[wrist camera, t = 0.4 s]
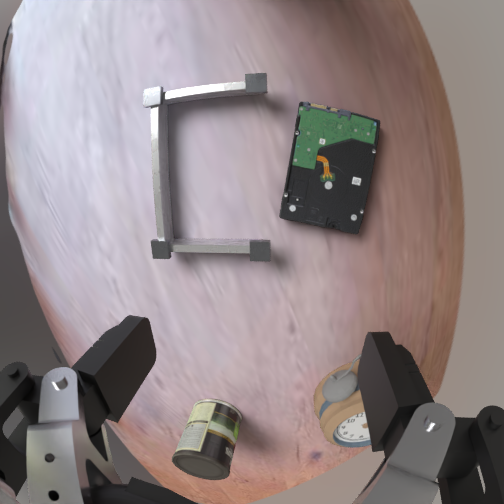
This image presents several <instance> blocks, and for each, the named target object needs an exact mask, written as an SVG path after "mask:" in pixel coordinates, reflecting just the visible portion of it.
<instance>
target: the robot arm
mask: <svg viewBox="0 0 504 504" xmlns="http://www.w3.org/2000/svg"><path fill="white" fill-rule="evenodd" d="M155 361H156V347H155V343H154V339H153V334H152V330H151V325H150V322H149V320H148V318H145V317H138V316H132V315H129V316H127V317H126V318H125V319H124V320H123V321H122V322H121V323H120V324H119V325H117V326H115V327H113V328H111V329H110V330H108V331H106V332H105V333H104V334H103V335H102V336H101V337H100V338H99V341H96V342H95V343H94V344H93V347H91V348H90V349H89V350H88V351H87V352H86V353H85V354H84V355H83V356H82V357H81V358H80V359H79V360H78V361H77V362H76V363H75V364H74V366H73V367H72V368H71V369H70V368H66V367H60V368H56V369H53V370H51V371H50V372H49V373H47V374H46V375H45V376H44V377H43V376H35V375H32V374H31V373H30V371H29V369H28V367H27V365H26V364H24V363H22V362H14V363H11V364H9V365H7V366H6V367H5V368H4V369H3V370H2V371H1V372H0V504H20V503H19V502H18V501H17V500H16V496H17V494H18V493H19V491H20V489H21V487H22V485H23V484H24V482H25V480H26V479H27V482H28V494H29V503H30V504H198V503H196V502H193V501H191V500H189V499H187V498H185V497H183V496H181V495H179V494H177V493H175V492H173V491H171V490H169V489H167V488H164V487H160V486H157V485H154V484H151V483H148V482H144V481H142V480H139V479H136V478H133V477H132V478H131V480H130V482H129V484H123V483H122V481H121V479H120V477H119V476H118V474H117V472H116V470H115V468H114V465H113V461H112V457H111V453H110V449H109V444H108V440H107V435H106V430H105V427H104V425H103V423H104V421H105V419H109V420H111V421H114V422H117V423H118V421H119V420H120V418H121V416H122V415H123V413H124V412H125V410H126V408H127V407H128V405H129V404H130V402H131V400H132V399H133V397H134V396H135V394H136V392H137V391H138V389H139V388H140V386H141V384H142V383H143V381H144V380H145V378H146V376H147V375H148V373H149V372H150V370H151V369H152V367H153V365H154V363H155ZM419 372H420V371H419V369H418V367H417V365H415V361H414V359H413V357H412V355H411V353H410V352H409V351H408V350H407V349H405V348H404V347H403V346H402V345H395V343H394V341H393V339H392V337H391V335H390V333H389V332H368V333H367V335H366V339H365V343H364V346H363V350H362V354H361V358H360V361H359V365H358V372H357V378H358V384H359V388H360V392H361V397H362V401H363V406H364V410H365V415H366V420H367V425H368V430H369V435H370V440H371V446H372V451H373V452H376V451H383V450H384V453H385V458H384V459H383V461H382V462H381V464H380V466H379V467H378V469H377V470H376V472H375V473H374V475H373V476H372V477H371V479H370V480H369V482H368V483H367V485H366V486H365V487H364V489H363V490H362V491H361V493H360V494H359V496H358V497H357V498H356V499H355V500H354V502H353V503H352V504H432V502H433V500H434V498H435V496H436V494H437V491H438V487H439V488H440V494H441V500H442V504H504V410H503V409H502V408H500V407H498V406H487V407H485V408H483V409H482V410H481V411H480V413H479V414H478V415H477V417H476V418H461V417H454V414H453V413H452V411H450V409H449V408H447V407H446V406H444V405H442V404H439V403H435V402H434V400H433V398H432V396H431V394H430V391H429V389H428V387H427V385H426V383H425V381H424V379H423V377H422V375H421V373H419ZM16 407H18V409H19V410H20V412H21V413H22V414H23V416H24V418H23V419H22V421H21V422H20V423H19V425H18V426H17V427H16V429H15V430H14V431H13V433H12V434H11V436H10V437H9V438H8V439H7V438H6V437H5V435H4V434H3V430H2V427H3V424H4V422H5V421H6V420H7V418H8V417H9V416H10V414H11V413H12V412H13V411H14V410H15V408H16ZM478 466H480V469H481V472H482V476H483V480H484V483H485V494H484V492H483V487H482V484H481V480H480V476H479V472H478V469H477V467H478ZM436 478H438V482H439V483H437V482H435V480H436Z"/></svg>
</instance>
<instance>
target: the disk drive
mask: <svg viewBox="0 0 504 504" xmlns="http://www.w3.org/2000/svg"><path fill="white" fill-rule="evenodd" d="M379 129H380V120H377V119H374V118H370V117H367V116H363V115H360V114H357V113H353V112H352V113H351V112H350V111H347V110H343V109H340V110H339V109H337V108H332V107H328V106H324V105H319V104H314V103H309V102H300V103H299V109H298V115H297V119H296V124H295V132H294V138H293V144H292V150H291V155H290V161H289V167H288V172H287V178H286V183H285V189H284V194H283V198H282V203H281V210H280V215H279V216H280V218H282V219H287V220H292V221H298V222H303V223H307V224H312V225H317V226H321V227H328V228H335V229H338V230H341V231H344V232H349V233H353V234H358V233H359V229H360V226H361V223H362V219H363V212H364V209H365V205H366V200H367V195H368V191H369V186H370V180H371V175H372V170H373V165H374V160H375V155H376V148H377V144H378V138H379Z"/></svg>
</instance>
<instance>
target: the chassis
mask: <svg viewBox="0 0 504 504" xmlns="http://www.w3.org/2000/svg"><path fill="white" fill-rule="evenodd" d="M260 93H267V74H266V73H256V74H245V81H244V82H232V83H222V84H213V85H205V86H198V87H191V88H185V89H179V90H173V91H168V92H163V87H161V86H159V87H155V88H150V89H146V90H144V107H145V108H148V107H151V148H152V173H153V189H154V203H155V215H156V225H157V235H158V239H153V240H152V241H151V247H152V255H153V259H170V258H171V252H200V253H250V261H270V240H263V239H174V234H173V223H172V211H171V197H170V181H169V159H168V104H174V103H180V102H187V101H194V100H201V99H209V98H218V97H229V96H242V95H260Z"/></svg>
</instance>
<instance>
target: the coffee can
mask: <svg viewBox="0 0 504 504" xmlns="http://www.w3.org/2000/svg"><path fill="white" fill-rule="evenodd" d="M241 420H242V417H241V414H240V412H239V411H238V410H237V409H236V408H235V407H234V406H232V405H230V404H228V403H226V402H224V401H220V400H216V399H203V400H200V401H198V402H196V403H195V405H194V406H193V410H192V412H191V415H190V417H189V420H188V422H187V425H186V427H185V430H184V432H183V434H182V437H181V439H180V442H179V444H178V447H177V449H176V451H175V454H174V455H173V457H172V462H173V463H174V465H175V466H176V467H178V468H179V469H180V470H182V471H184V472H185V473H187V474H190V475H192V476H195V477H198V478H203V479H208V480H221V479H225V478H227V477H228V476H229V473H230V466H231V462H232V458H233V453H234V449H235V444H236V440H237V436H238V431H239V427H240V423H241Z"/></svg>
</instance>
